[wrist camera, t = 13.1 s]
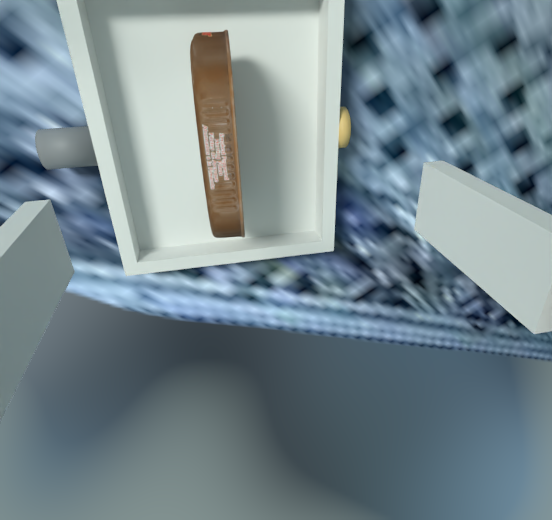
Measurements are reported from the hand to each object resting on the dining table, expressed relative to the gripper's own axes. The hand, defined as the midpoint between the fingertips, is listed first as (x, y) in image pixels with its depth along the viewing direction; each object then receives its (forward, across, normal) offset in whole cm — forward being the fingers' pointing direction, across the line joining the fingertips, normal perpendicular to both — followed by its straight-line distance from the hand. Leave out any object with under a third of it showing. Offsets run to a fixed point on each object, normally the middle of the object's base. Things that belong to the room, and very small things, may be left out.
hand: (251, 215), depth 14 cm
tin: (+22, 0, -2) cm, 22 cm away
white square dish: (+23, -1, -2) cm, 23 cm away
